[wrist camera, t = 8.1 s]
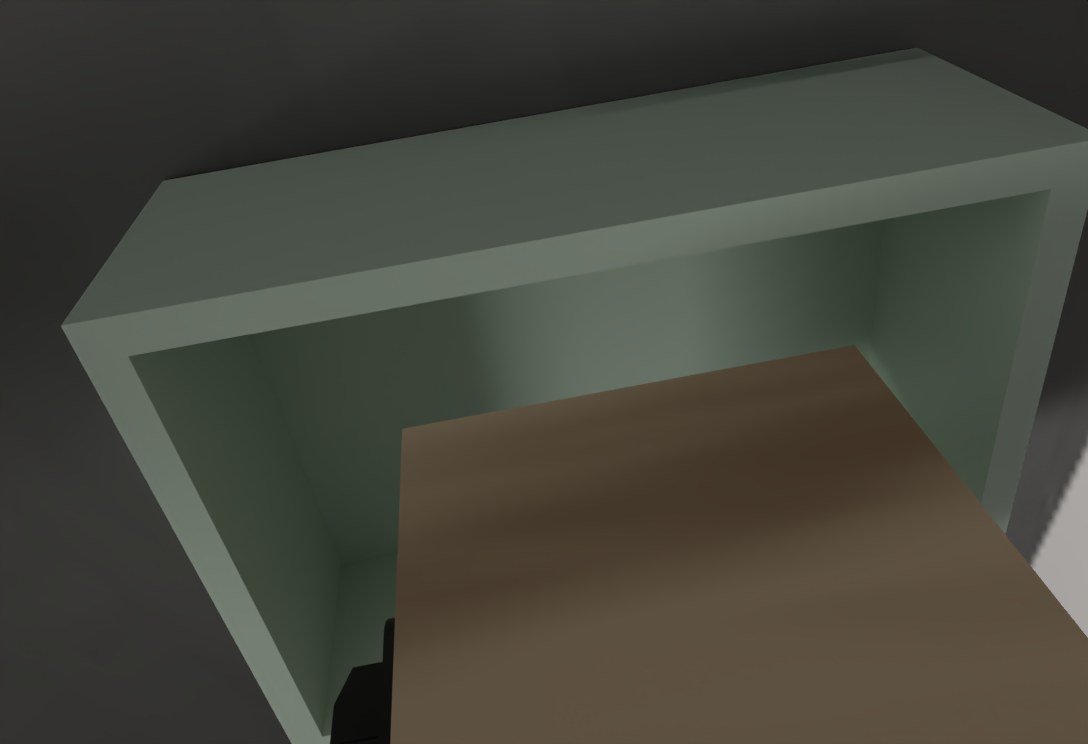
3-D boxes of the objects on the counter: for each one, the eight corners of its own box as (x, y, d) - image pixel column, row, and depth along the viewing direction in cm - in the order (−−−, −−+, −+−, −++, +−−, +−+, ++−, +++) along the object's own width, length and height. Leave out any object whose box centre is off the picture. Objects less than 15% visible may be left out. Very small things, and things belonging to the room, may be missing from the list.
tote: (325, 567, 20) (300, 759, 16) (162, 180, 15) (60, 326, 10) (869, 465, 21) (981, 629, 16) (917, 47, 15) (1105, 137, 11)
